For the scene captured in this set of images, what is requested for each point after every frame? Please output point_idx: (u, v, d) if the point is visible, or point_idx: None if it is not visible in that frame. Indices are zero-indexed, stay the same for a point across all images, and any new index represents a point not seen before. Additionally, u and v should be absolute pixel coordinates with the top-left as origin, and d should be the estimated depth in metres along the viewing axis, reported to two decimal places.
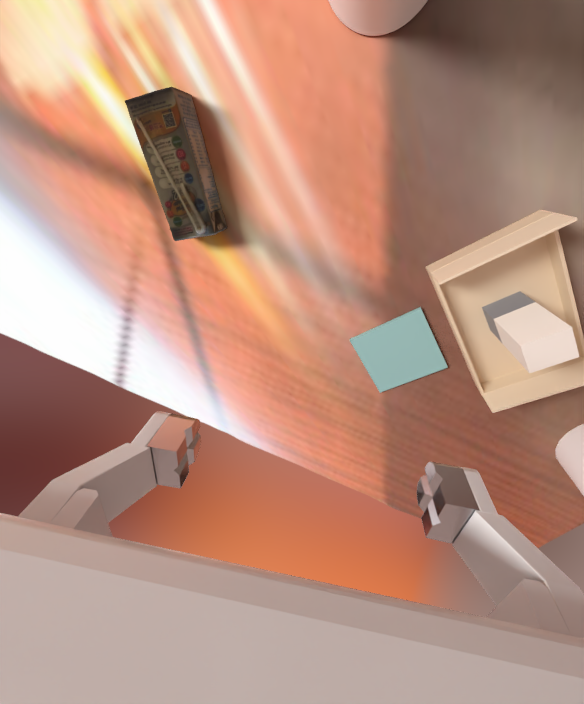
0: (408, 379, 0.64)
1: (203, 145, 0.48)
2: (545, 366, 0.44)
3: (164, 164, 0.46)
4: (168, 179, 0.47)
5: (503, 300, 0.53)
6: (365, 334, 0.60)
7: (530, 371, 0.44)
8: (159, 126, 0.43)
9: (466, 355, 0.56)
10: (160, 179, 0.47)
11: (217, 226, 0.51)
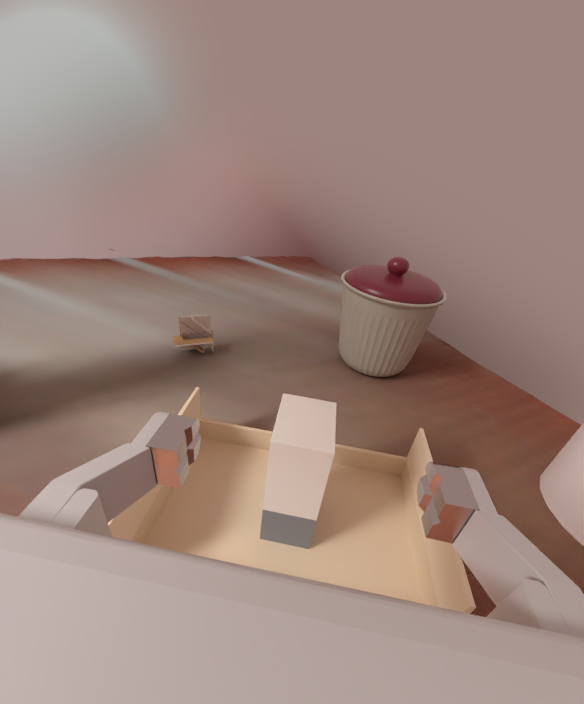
0: None
1: None
2: (333, 433, 0.26)
3: None
4: None
5: None
6: None
7: (330, 451, 0.24)
8: None
9: None
10: None
11: None
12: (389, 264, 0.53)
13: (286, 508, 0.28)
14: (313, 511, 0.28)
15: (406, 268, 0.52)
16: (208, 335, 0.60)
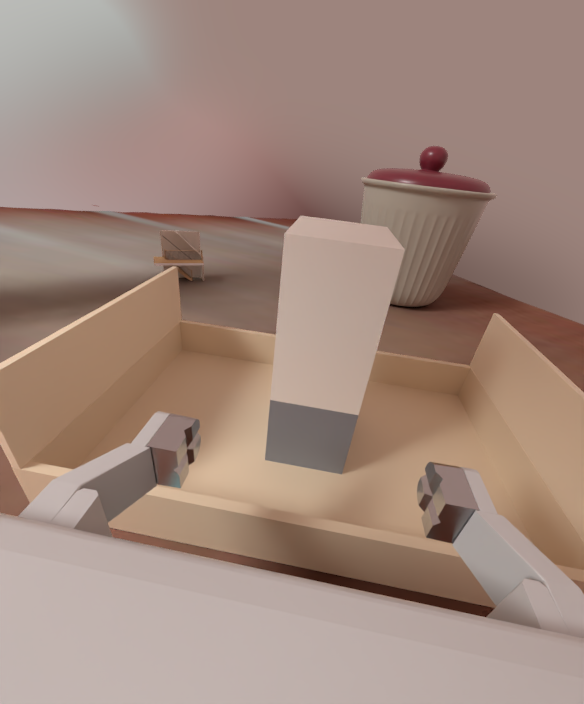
0: None
1: None
2: (393, 239, 0.15)
3: None
4: None
5: None
6: None
7: (397, 247, 0.13)
8: None
9: (380, 536, 0.14)
10: None
11: None
12: (423, 155, 0.42)
13: (309, 393, 0.17)
14: (354, 395, 0.17)
15: (445, 158, 0.42)
16: (197, 260, 0.49)
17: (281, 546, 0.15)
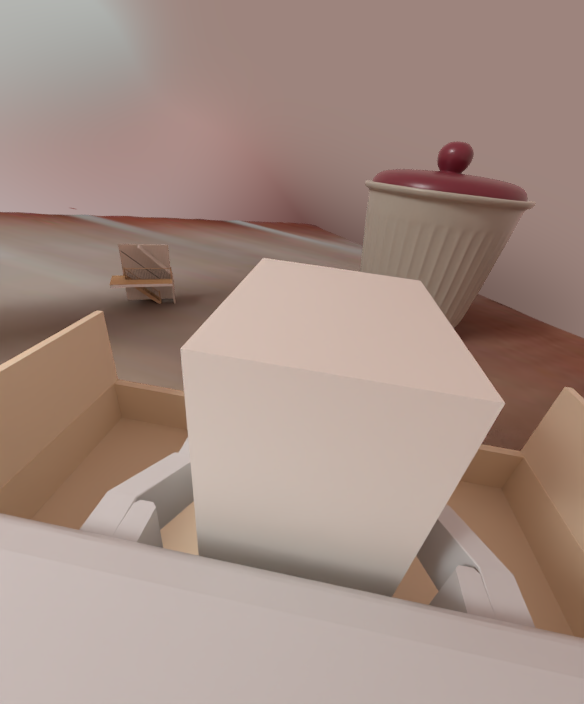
0: None
1: None
2: (452, 337, 0.06)
3: None
4: None
5: None
6: None
7: (481, 392, 0.05)
8: None
9: None
10: None
11: None
12: (442, 153, 0.34)
13: None
14: None
15: (470, 156, 0.33)
16: (167, 278, 0.41)
17: None
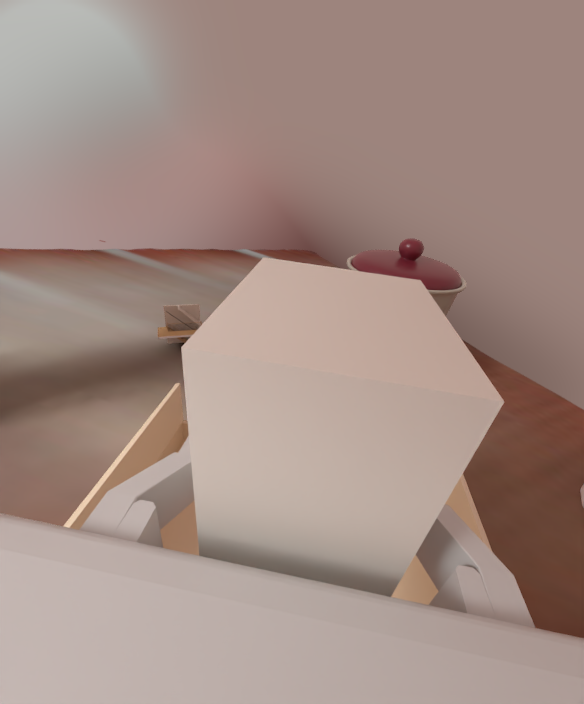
0: None
1: None
2: (451, 336, 0.06)
3: None
4: None
5: None
6: None
7: (480, 391, 0.05)
8: None
9: None
10: None
11: None
12: (401, 246, 0.47)
13: None
14: None
15: (420, 251, 0.46)
16: (197, 327, 0.54)
17: None
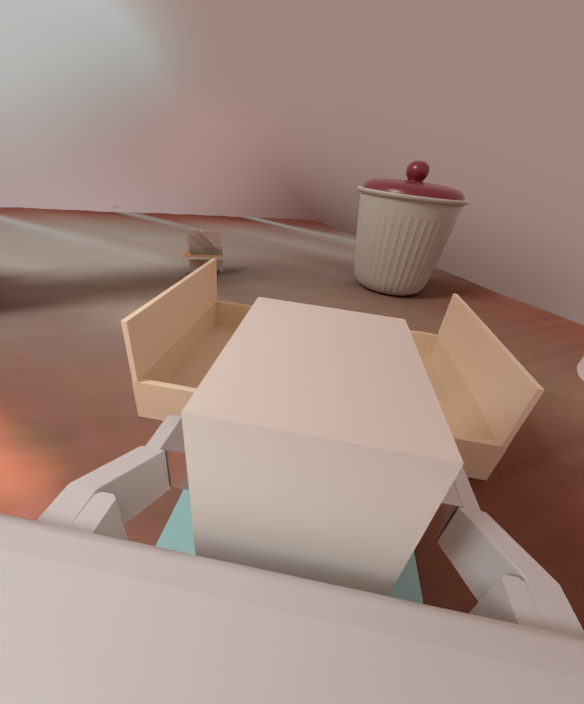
0: None
1: None
2: (425, 389, 0.07)
3: None
4: None
5: None
6: None
7: (444, 452, 0.06)
8: None
9: None
10: None
11: None
12: (408, 168, 0.51)
13: None
14: None
15: (426, 171, 0.50)
16: (217, 255, 0.58)
17: None
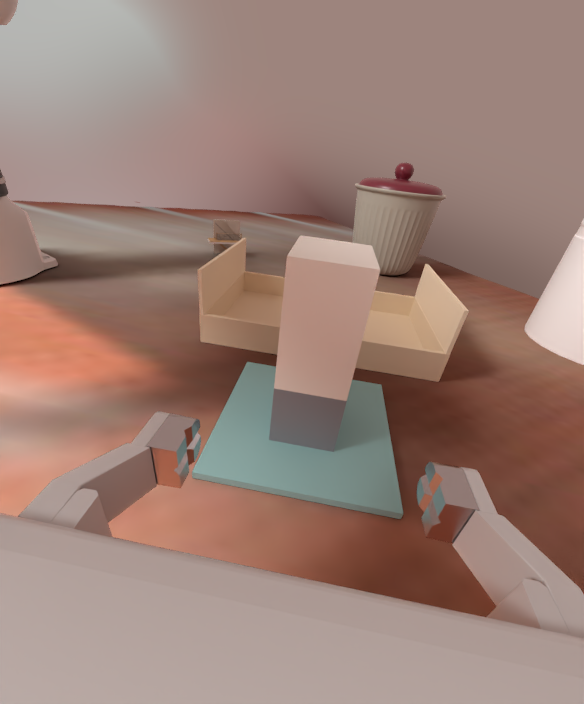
0: (383, 438, 0.26)
1: None
2: (373, 259, 0.18)
3: None
4: None
5: None
6: (212, 437, 0.24)
7: (374, 268, 0.17)
8: None
9: None
10: None
11: None
12: (397, 169, 0.62)
13: (306, 383, 0.21)
14: (343, 384, 0.21)
15: (411, 171, 0.61)
16: (237, 241, 0.69)
17: None
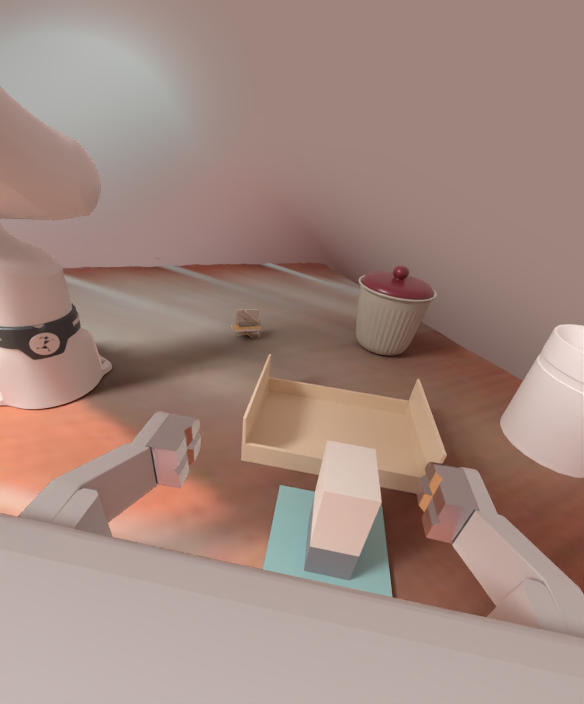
0: (383, 564, 0.36)
1: None
2: (377, 481, 0.29)
3: None
4: None
5: (307, 538, 0.37)
6: None
7: (378, 499, 0.27)
8: None
9: None
10: None
11: None
12: (394, 271, 0.73)
13: (332, 545, 0.31)
14: (357, 548, 0.31)
15: (407, 274, 0.72)
16: (256, 324, 0.80)
17: None
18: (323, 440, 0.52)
